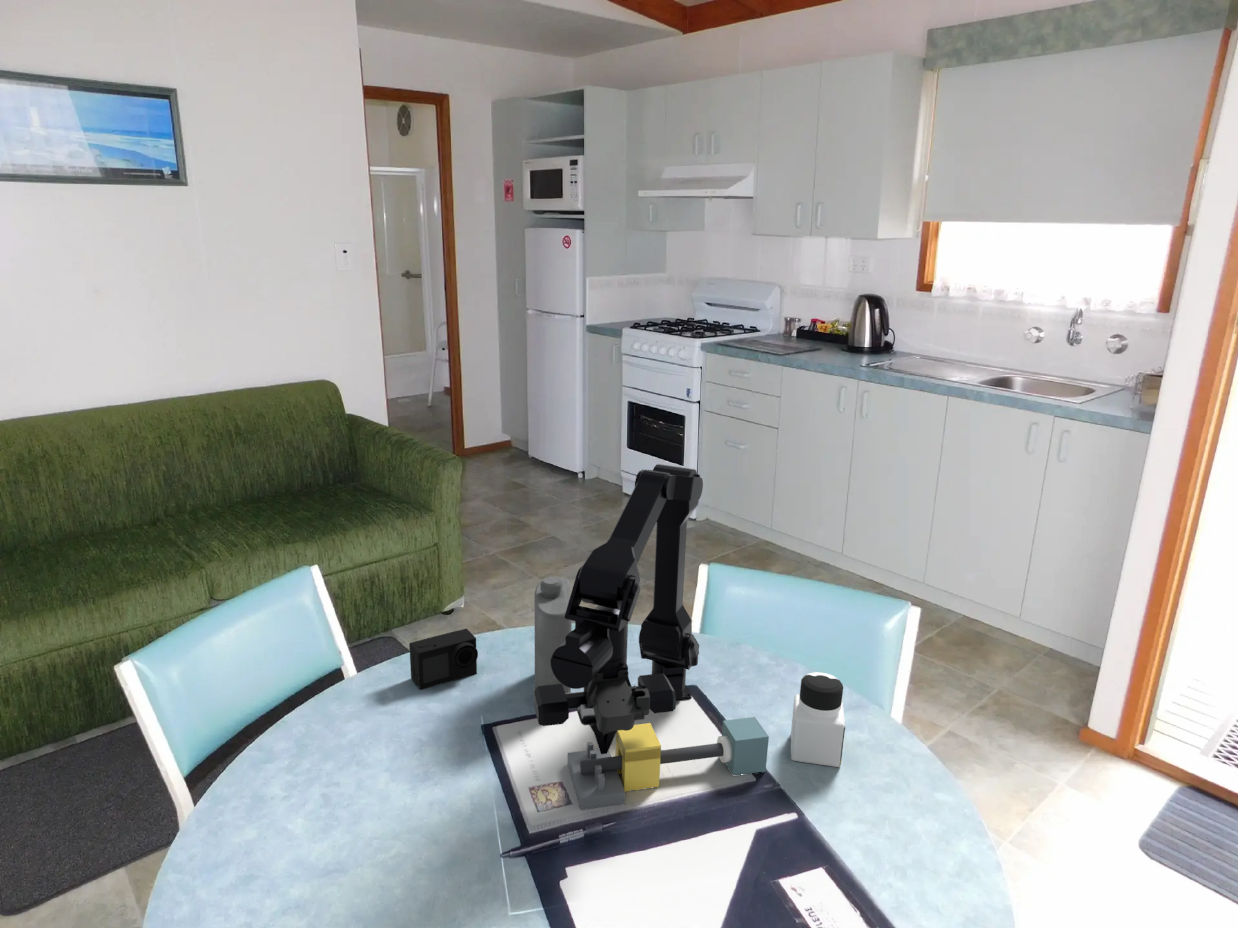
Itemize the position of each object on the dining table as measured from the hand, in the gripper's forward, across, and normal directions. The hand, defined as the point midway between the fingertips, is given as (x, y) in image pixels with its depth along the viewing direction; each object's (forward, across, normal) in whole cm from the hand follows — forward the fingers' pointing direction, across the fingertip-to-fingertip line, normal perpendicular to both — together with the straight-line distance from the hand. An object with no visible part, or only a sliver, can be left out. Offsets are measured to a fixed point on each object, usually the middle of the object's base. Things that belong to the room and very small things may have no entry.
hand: (603, 752), depth 114 cm
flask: (+5, -3, +25) cm, 26 cm away
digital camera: (+5, -20, +32) cm, 39 cm away
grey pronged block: (+5, -1, 0) cm, 5 cm away
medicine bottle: (+5, +33, +1) cm, 33 cm away
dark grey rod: (+5, +10, 0) cm, 11 cm away
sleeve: (+5, +5, 0) cm, 7 cm away
